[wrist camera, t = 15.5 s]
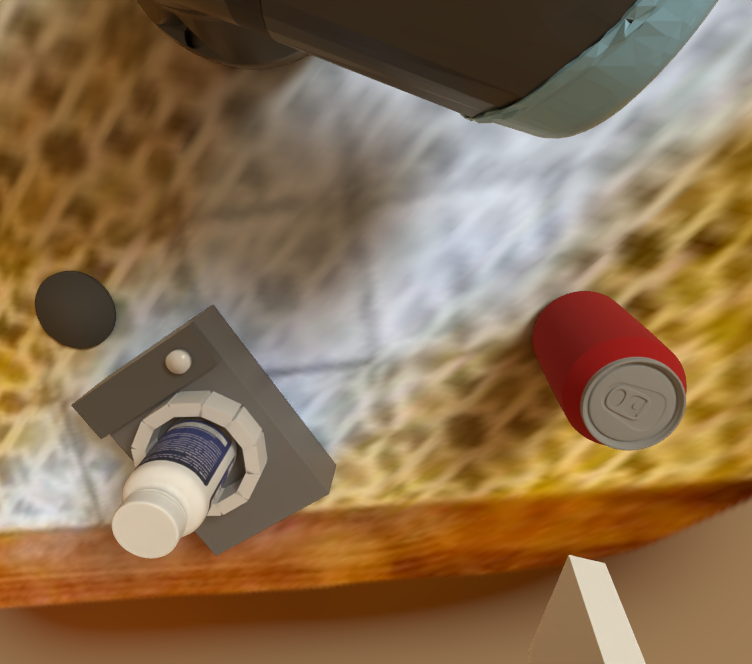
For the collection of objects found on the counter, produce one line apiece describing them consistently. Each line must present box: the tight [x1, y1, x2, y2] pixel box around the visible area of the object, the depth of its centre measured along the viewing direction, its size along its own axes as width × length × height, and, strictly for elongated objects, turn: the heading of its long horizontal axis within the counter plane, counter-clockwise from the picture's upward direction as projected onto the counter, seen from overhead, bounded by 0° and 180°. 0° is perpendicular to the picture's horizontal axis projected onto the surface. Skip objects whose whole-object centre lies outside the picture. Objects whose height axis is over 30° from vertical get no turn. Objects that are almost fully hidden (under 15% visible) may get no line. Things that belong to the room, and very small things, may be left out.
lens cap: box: [35, 271, 116, 349], centre depth 45 cm, size 6×6×1 cm
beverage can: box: [532, 291, 687, 450], centre depth 37 cm, size 7×7×12 cm
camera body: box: [71, 305, 336, 556], centre depth 44 cm, size 16×11×6 cm
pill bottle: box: [112, 416, 237, 558], centre depth 39 cm, size 5×5×10 cm
